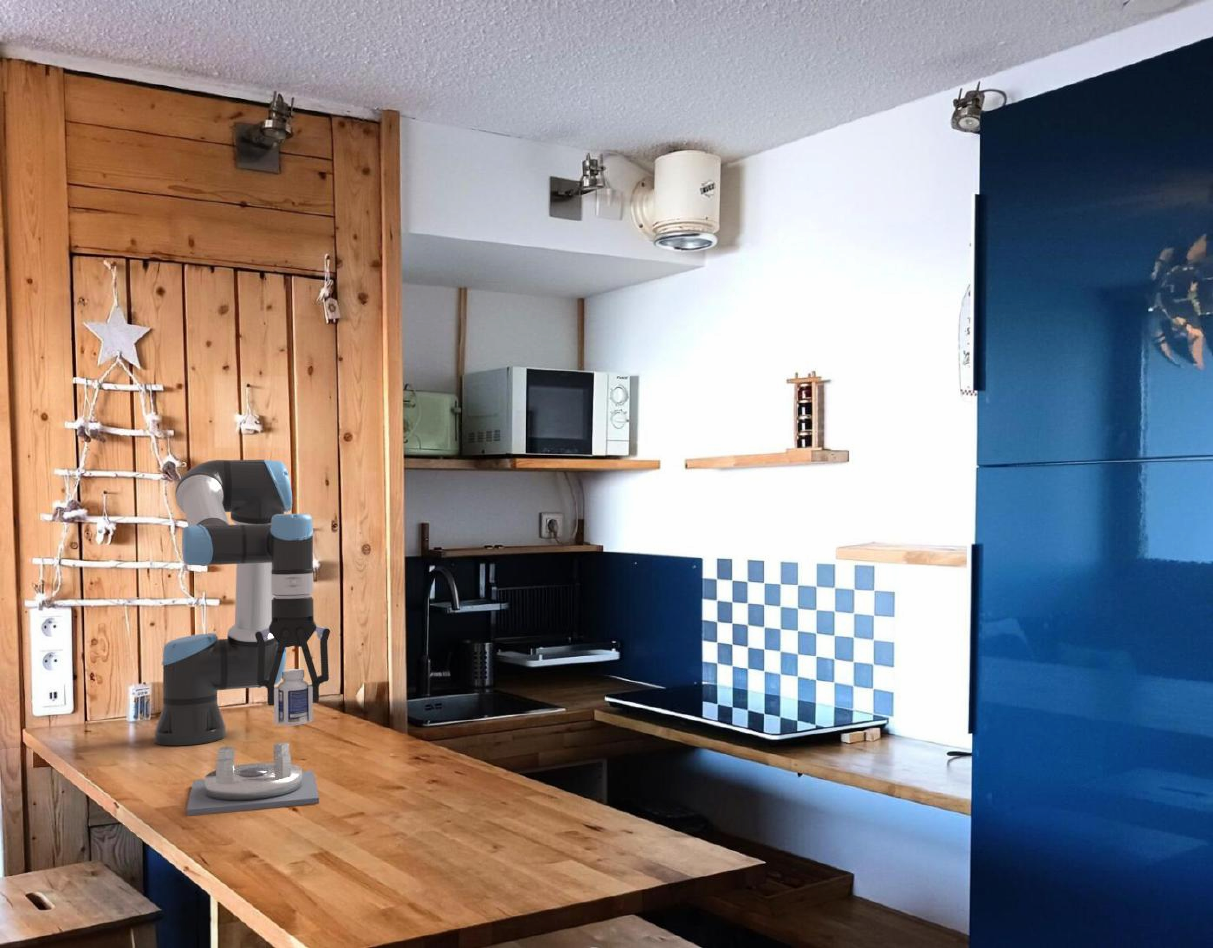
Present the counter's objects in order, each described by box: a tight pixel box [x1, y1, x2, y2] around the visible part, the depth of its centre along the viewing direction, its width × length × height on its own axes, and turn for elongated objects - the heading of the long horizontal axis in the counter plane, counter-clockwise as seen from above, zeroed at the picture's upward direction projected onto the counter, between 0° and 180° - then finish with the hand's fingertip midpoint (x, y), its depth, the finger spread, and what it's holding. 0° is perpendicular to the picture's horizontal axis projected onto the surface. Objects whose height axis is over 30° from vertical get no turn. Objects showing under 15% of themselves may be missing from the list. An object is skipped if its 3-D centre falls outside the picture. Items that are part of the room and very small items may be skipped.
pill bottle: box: [278, 668, 309, 727], centre depth 204 cm, size 5×5×10 cm
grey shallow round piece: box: [204, 742, 303, 800], centre depth 202 cm, size 17×17×6 cm
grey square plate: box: [186, 770, 320, 817], centre depth 202 cm, size 21×22×1 cm
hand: (293, 721), depth 204 cm, fingers closed on pill bottle, 5 cm apart
